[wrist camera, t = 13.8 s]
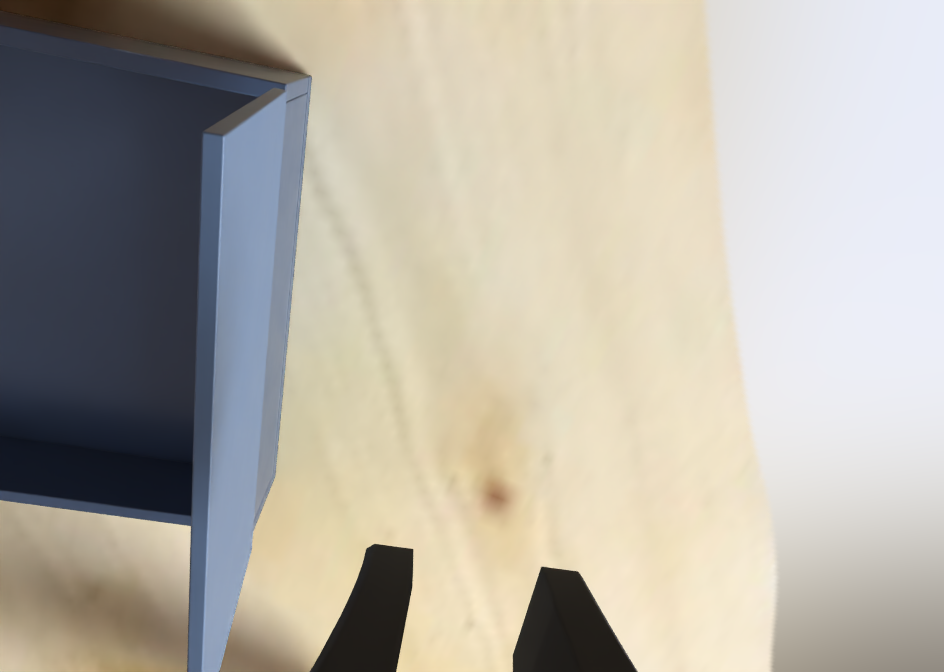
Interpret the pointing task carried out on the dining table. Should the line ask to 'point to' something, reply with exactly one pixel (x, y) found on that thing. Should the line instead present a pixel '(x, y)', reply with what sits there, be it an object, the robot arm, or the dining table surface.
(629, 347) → the dining table surface
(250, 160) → the flap
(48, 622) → the dining table surface
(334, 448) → the dining table surface
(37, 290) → the carton
